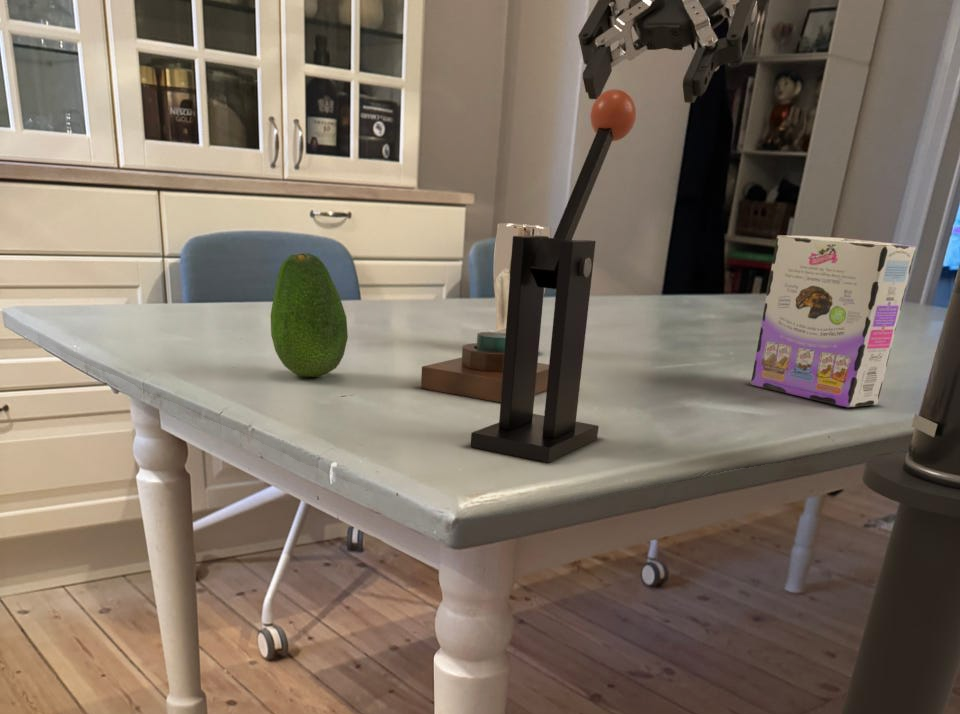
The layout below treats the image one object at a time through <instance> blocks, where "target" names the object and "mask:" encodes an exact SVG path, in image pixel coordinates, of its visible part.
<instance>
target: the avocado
mask: <svg viewBox="0 0 960 714" xmlns="http://www.w3.org/2000/svg"><path fill="white" fill-rule="evenodd" d="M325 265H326V264H324V262H323V261H322V260H321V259H320V258H319V257H318V256H316V255H314V254H311V253H309V252H304V253H297V254H290V255H289V256H288V257H286V259H285V260H283V261H282V263H281V264H280V267H279V271H278V273H277V277H276V282H275V286H274V287H275V288H274V294H273V297H272V305H271V310H270V336H271V340H272V344H273V347H274V351H275V353H276V355H277V356H278V359H279V360H280V362H281V364H282V365H283V367H285V368H286V369H288V370H289V371H290V372H292V373H293V374H295V375H296V376H298V377H303V378H308V379H309V378H316V377H322V376H325V375H328V374H329V373H331V372H332V371H334V370H336V369H337V368H338V366H339V365H340V363H341V361H342V360H343V358H344V356H345V351H346V347H347V342H348V338H349V335H348V321H347V320H348V319H347V315H346V312H345V311H346V310H345V309H344V306H343V303H342V299H341V296H340V294H339V292H338V290H337V287H336V285H335V283H334V281H333V278H332V277H331V274H330V273H329V272H330V271H328V268H327V266H325Z"/></svg>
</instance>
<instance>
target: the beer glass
mask: <svg viewBox="0 0 960 714" xmlns="http://www.w3.org/2000/svg"><path fill="white" fill-rule="evenodd" d="M551 233H552V227H551V226H548V225H537V224H529V223H527V224H524V223H512V222H511V223H510V222H509V223H508V222H498V223H497V229H496V237H495V244H494V250H493V251H494V252H493V269H492V272H493V275H492V276H493V291H494V300H495V301H494V302H495V313H496V314H495V315H496V316H495V319H496V321H495V329H494V332H497V333H505V334H506V323H507V310H508V296H509V283H510V269H511V255H512V242H513V236H537V235H539V236H548V237H549V238H552V237H551ZM545 292H546V288H544V293H545ZM544 296H545V294H544V295H543V297H544Z"/></svg>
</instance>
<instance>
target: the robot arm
mask: <svg viewBox="0 0 960 714" xmlns="http://www.w3.org/2000/svg"><path fill="white" fill-rule="evenodd" d="M726 18H727V19H728V21H729V28H728V30H727V32H726V35H725V37H721V38H718V35H717V34H716V32H715V31H714V29H716V28H717V27H718V26H720V25H721V24H722V23H723V22H724V21H725V19H726ZM757 23H758V0H597V1H596V4H595V5H594V7H593V9H592V11H591V12H590V14H589V15H588V17H587V19H586V21H585V22H584V25H583V26H582V28H581V29H580V31H579V33H578V36H577V37H578V41H579V46H580V51H581V56H582V61H583V64H584V65H585V68H584V70H583V71H582V81H583V86H584V90H585V93H587V97H588V99H589V100H596V99H597V98H598V97H599V96H600V95H601V94H602V93H603V90H604V88H605V86H606V84H607V82H608V80H609V78H610V76H611V74H612V72H613V68H614V67H615V66H617V65H618V64H620V63H621V62H623V61H624V60H626V59H627V60H628V61H632V60H634V59H635V58H638V57H639V56H640V55H642V54H643V53H644V52H646V51H658V50H662V49H663V50H664V49H667V50H672V51H682V50H683V49H684V48H686V47H689V49H690V51H691V53H692V54H693V55H692V58H691V61H690V63H689V65H688V67H687V70H686V71H685V74H684V77H683V80H682V92H683V100H684V103H686V104H687V103H688V104H694V103H695V102H696V100H697V98H698V97H702V96H703V95H704V94H705V92H706V91H707V88H708V86H709V85H710V84H709V83H710V82H711V79H712V78H713V74H714V73H715V72H717V71H718V70H719V69H720V66H723V65H728V67H729V68H738V67H740V66H741V65H742V64H743V63H744V60H745V57H746V54H747V52H748V49H749V45H750V42H751V40H752V36H753V35H754V32H755V29H756V25H757ZM632 28H633V31H634V32H635V34H636V36H637V39H635V40H633V39H634V38H633V33H632ZM617 41H618V46H617V47H616V48H614V49H613V50H612V49H611V45H613V44H615V43H616V42H617ZM911 427H912V428H914V430H913V434H912V437H911V440H910V442H909V445H908V452H906V453H907V455H906V458H905V462H904V465H903V468H904V470H905V471H906V472H908V473H909V474H911V475H913V476H915V477H917V478H919V479H922V480H925V481H928V482H931V483H934V484H938V485H942V486H946V487H951V488H955V489H960V263H959V265H958V268H957V272H956V276H955V280H954V283H953V285H952V290H951V294H950V297H949V301H948V305H947V308H946V312H945V315H944V320H943V323H942V327H941V331H940V333H939V337H938V342H937V346H936V349H935V352H934V356H933V360H932V364H931V367H930V371H929V374H928V378H927V381H926V385H925V389H924V393H923V397H922V400H921V404H920V408H919V412H918V414H917V413H914V415H913V420H912V422H911Z"/></svg>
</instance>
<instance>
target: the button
mask: <svg viewBox="0 0 960 714" xmlns="http://www.w3.org/2000/svg"><path fill="white" fill-rule="evenodd" d="M505 337H506V334H505V333H497V332H495V331H481V332H478V333H477V335H476V343H477V349H478V350H483V351H491V352H504V351H505Z"/></svg>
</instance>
